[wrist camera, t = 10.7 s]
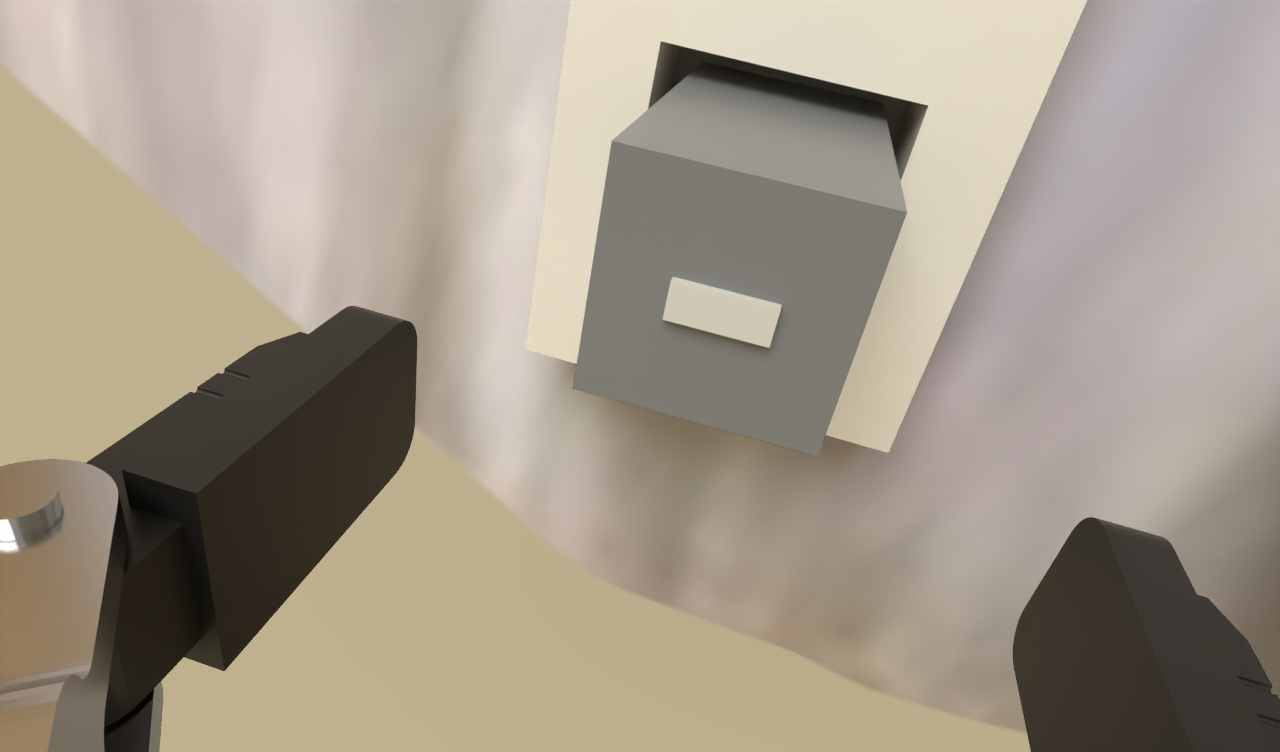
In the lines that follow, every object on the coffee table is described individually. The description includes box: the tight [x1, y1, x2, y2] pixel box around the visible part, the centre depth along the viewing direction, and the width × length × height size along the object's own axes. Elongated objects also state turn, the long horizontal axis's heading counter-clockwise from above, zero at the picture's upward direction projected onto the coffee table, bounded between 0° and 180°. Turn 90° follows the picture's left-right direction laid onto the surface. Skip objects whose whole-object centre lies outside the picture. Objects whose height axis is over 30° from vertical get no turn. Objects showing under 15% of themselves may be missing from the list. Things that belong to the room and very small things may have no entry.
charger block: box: [573, 62, 907, 456], centre depth 17 cm, size 4×4×9 cm
